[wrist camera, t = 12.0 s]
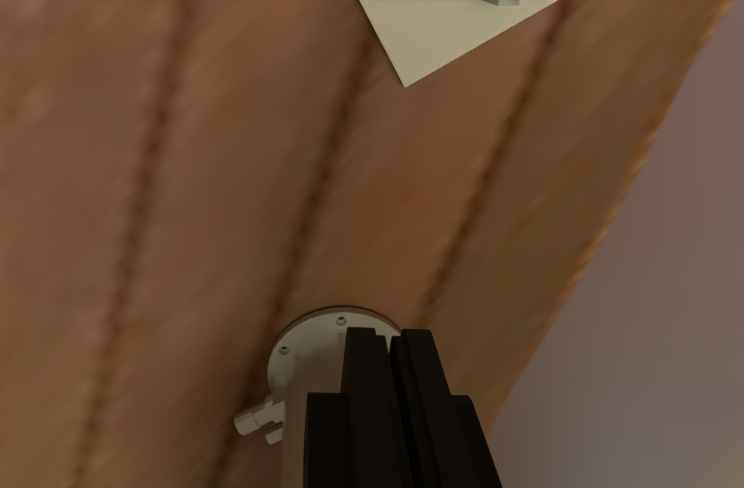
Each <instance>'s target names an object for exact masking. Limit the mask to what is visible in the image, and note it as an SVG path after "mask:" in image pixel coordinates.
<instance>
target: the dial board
mask: <svg viewBox="0 0 744 488" xmlns="http://www.w3.org/2000/svg"><path fill="white" fill-rule="evenodd" d="M359 1H360V3H361V5H362V7H363V9H364V11H365V13H366V15H367V17H368V19H369V21H370V23H371V24H372V26H373V28H374V30H375V32H376V34H377V36H378V38H379V40H380V42H381V44H382V46H383V47H384V49H385V51H386V53H387V55H388V57H389V59H390V61H391V63H392V65H393V67H394V69H395V71H396V72H397V74H398V76H399V78H400V80H401V82H402V84H403V85H404V87H405V88H406V87H407V86H409V85H411V84H412V83H414V82H416V81H418V80H419V79H421V78H423V77H425V76H426V75H428V74H430V73H432V72H433V71H435V70H437V69H439V68H440V67H442V66H444V65H446V64H447V63H449V62H451V61H453V60H454V59H456V58H458V57H460V56H461V55H463V54H465V53H467V52H468V51H470V50H472V49H474V48H475V47H477V46H479V45H480V44H482V43H484V42H486V41H487V40H489V39H491V38H493V37H494V36H496V35H498V34H500V33H501V32H503V31H505V30H507V29H508V28H510V27H512V26H514V25H515V24H517V23H519V22H521V21H522V20H524V19H526V18H528V17H529V16H531V15H533V14H535V13H536V12H538V11H540V10H541V9H543V8H545V7H547V6H548V5H550V4H552V3H554V2H555V1H557V0H519V5H513V6H496V5H493V4H490V3H487V2H485V1H482V0H359Z"/></svg>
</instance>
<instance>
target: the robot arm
mask: <svg viewBox="0 0 744 488" xmlns="http://www.w3.org/2000/svg"><path fill="white" fill-rule="evenodd" d="M267 378H268V383H269V388H270V390H271V392H272V393H271V394H269V395H267V396H265V399H264V402H262V403H260V404H258V405H256V406H252V407H250V408H248V409H246V410H244V411H242V412H240V413H238V414H236V415H235V417H234V422H235V426H236V428H237V430H238V432H239V433H240V434H241V435H243V436H245V435H247V434H249V433H251V432H253V431H255V430H257V429H259V428H261V427H263V426H264V425H265V424H267V423H269V422H271V421H274V422H275V423H279V422H281V421H283V422H282V423H280V424H277V425H275V426H273V427H271V428H268V429H266V430H265V437H266V440H267V442H268V443H269V444H270V445H272V444H274V443H276V442H278V441H280V440H282V447H281V465H280V483H279V488H502V485H501V482H500V479H499V476H498V473H497V471H496V468H495V465H494V462H493V459H492V456H491V454H490V451H489V448H488V445H487V442H486V439H485V437H484V434H483V431H482V428H481V425H480V422H479V420H478V417H477V414H476V411H475V408H474V405H473V403H472V401H471V399H470V397H468V396H467V395H451V394H450V391H449V387H448V384H447V381H446V378H445V375H444V371H443V368H442V365H441V362H440V359H439V355H438V352H437V349H436V346H435V342H434V339H433V336H432V333H431V331H430V330H424V329H403V330H402V331H400V330H399V329H398V328H397V327H396V326H395V325H394V324H393V323H392V322H390V321H389V320H387V319H386V318H385V317H383V316H380V315H378V314H376V313H374V312H372V311H368V310H364V309H360V308H351V307H336V308H328V309H323V310H319V311H315V312H313V313H310V314H308V315H306V316H303V317H302V318H300V319H298V320H297V321H295V322H294V323H292V324H291V325H290V326H289V327H288V328H286V329H285V330H284V331H283V332H282V333H281V335H280V336H279V337H278V339H277V340H276V342H275V343H274V345H273V348H272V350H271V352H270V355H269V361H268V373H267Z"/></svg>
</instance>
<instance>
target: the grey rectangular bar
mask: <svg viewBox="0 0 744 488" xmlns="http://www.w3.org/2000/svg"><path fill="white" fill-rule="evenodd" d="M482 1H485V2H487V3H490V4H493V5H496V6H513V5H519V0H482Z"/></svg>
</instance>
